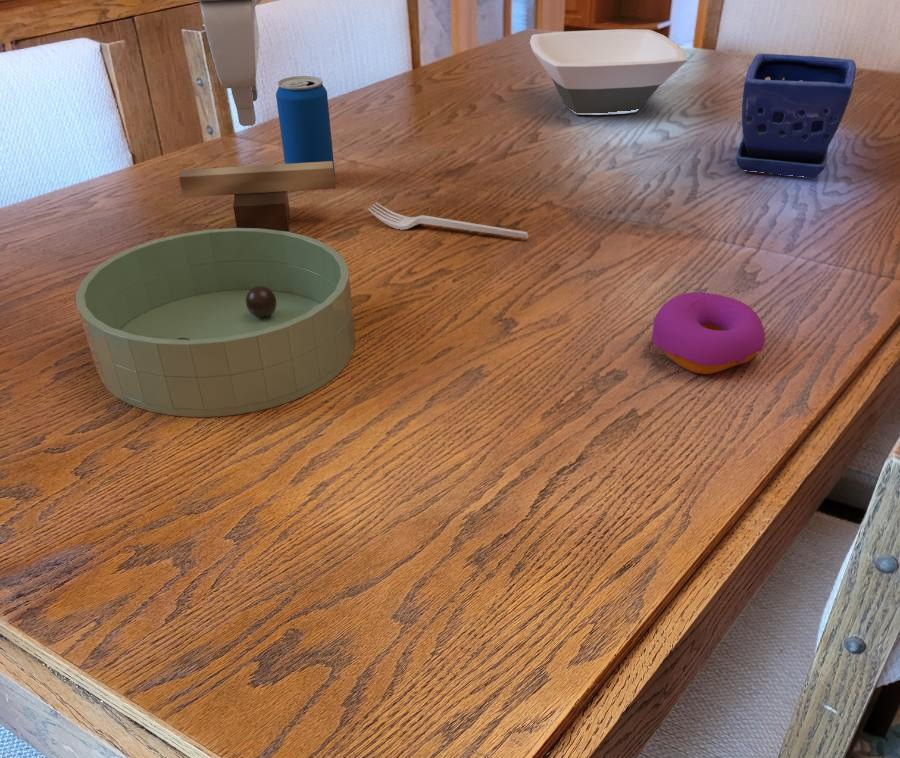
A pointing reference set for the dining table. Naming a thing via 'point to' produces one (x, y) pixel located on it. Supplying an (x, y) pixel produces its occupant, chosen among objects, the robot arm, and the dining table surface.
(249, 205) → the block
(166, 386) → the green round basin
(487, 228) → the fork
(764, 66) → the flower pot
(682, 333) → the donut
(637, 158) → the dining table surface
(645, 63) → the bowl
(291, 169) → the stirring stick
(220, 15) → the robot arm
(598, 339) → the dining table surface
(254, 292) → the bead
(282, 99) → the beverage can
